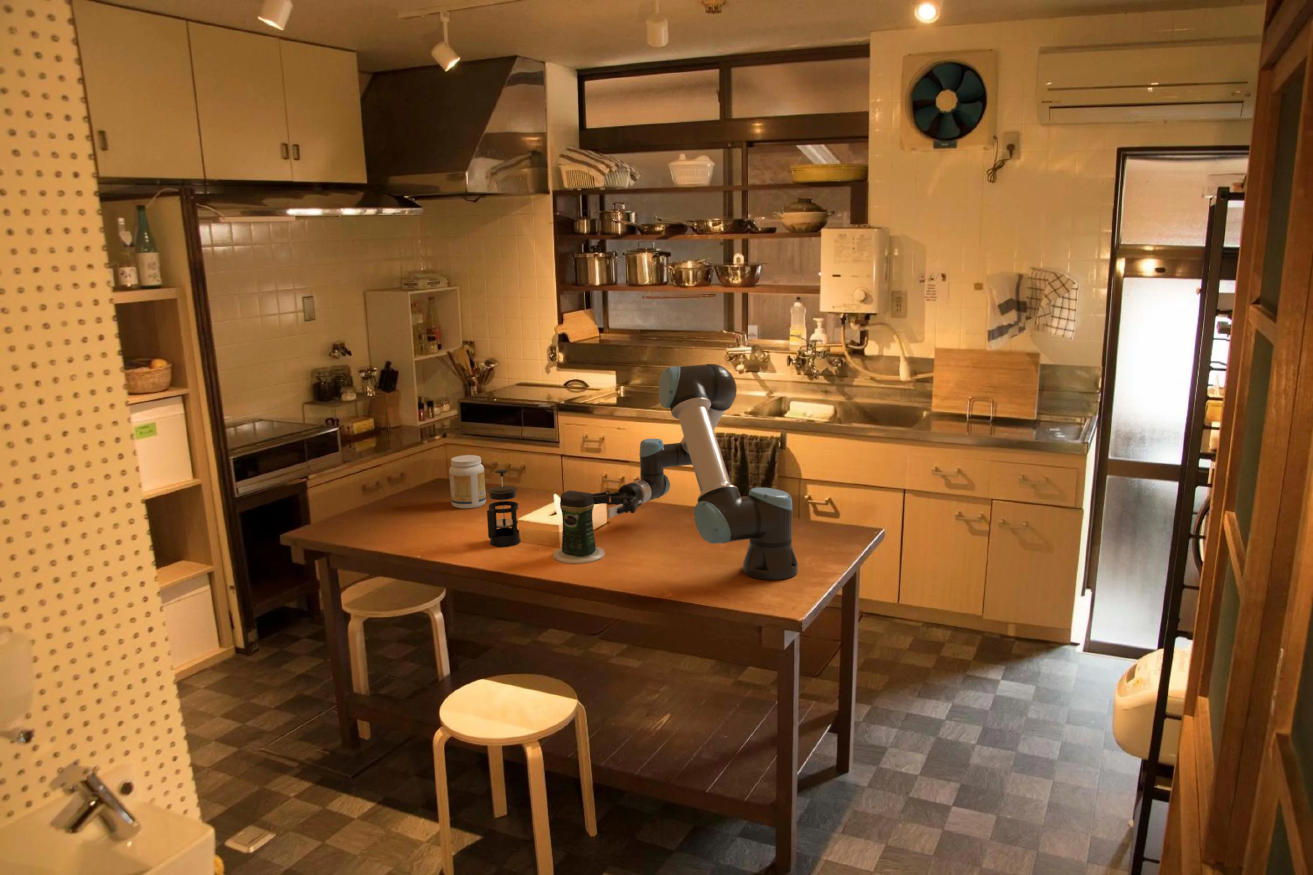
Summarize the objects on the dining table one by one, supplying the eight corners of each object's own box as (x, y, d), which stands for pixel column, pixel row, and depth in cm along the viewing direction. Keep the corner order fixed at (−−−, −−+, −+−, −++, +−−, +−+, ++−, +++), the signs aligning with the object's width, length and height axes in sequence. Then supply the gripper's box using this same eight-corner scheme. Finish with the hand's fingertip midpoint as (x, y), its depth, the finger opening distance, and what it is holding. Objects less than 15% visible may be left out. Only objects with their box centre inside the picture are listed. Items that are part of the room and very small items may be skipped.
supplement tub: (475, 498, 346) (472, 452, 342) (492, 504, 336) (490, 458, 333) (445, 504, 338) (442, 458, 335) (461, 511, 329) (458, 463, 325)
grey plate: (610, 560, 276) (610, 557, 276) (559, 566, 272) (559, 563, 271) (597, 545, 290) (597, 542, 290) (548, 550, 286) (548, 547, 285)
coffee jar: (600, 551, 282) (598, 490, 278) (585, 559, 275) (583, 496, 271) (572, 546, 286) (570, 486, 283) (557, 554, 280) (555, 493, 276)
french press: (505, 535, 301) (502, 464, 297) (528, 540, 296) (525, 468, 291) (479, 545, 292) (475, 472, 287) (502, 550, 287) (498, 476, 282)
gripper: (666, 511, 294) (624, 528, 277) (603, 499, 308) (559, 515, 291) (666, 488, 292) (623, 504, 275) (602, 477, 307) (558, 492, 290)
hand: (590, 510), depth 283 cm, fingers open, 13 cm apart
